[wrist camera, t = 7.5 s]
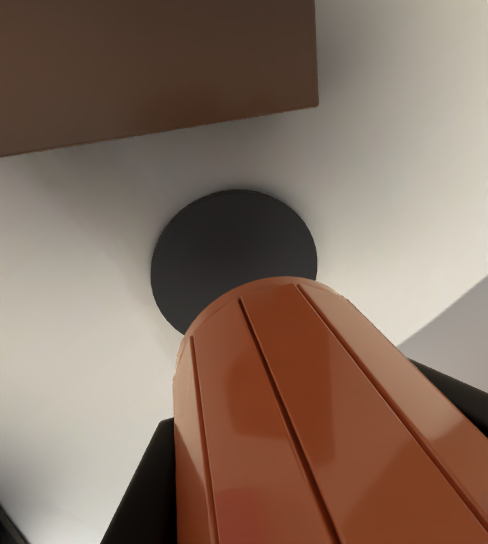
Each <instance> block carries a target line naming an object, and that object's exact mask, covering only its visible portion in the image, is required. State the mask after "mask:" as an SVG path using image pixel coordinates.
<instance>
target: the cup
mask: <svg viewBox="0 0 488 544" xmlns="http://www.w3.org/2000/svg"><path fill="white" fill-rule="evenodd" d="M173 407H174V439H175V461H176V478H175V483H176V520H177V544H488V438H487V437H486V436H485V435H484V434H483V433H482V432H481V431H480V430H479V429H478V428H477V427H476V426H475V425H474V424H473V423H472V422H471V421H470V420H469V419H468V418H467V417H466V416H465V415H464V414H463V413H462V412H461V411H460V410H459V409H458V408H457V407H456V406H455V405H454V404H453V403H452V402H451V401H450V400H449V399H448V398H447V397H446V396H445V395H444V394H443V393H442V392H441V391H440V390H439V389H438V388H437V387H436V386H435V385H434V384H433V383H432V382H431V381H430V380H428V379H427V378H426V377H425V376H424V375H423V374H422V373H421V372H420V371H419V370H418V369H417V368H416V367H415V366H414V365H413V364H412V363H411V362H410V361H409V360H408V359H407V358H406V357H405V356H404V355H403V354H402V353H401V352H400V351H399V350H398V349H397V348H396V347H395V346H394V345H393V344H392V343H391V342H390V341H389V340H388V339H387V338H386V337H385V336H384V335H383V334H382V333H381V332H380V331H379V330H378V329H377V328H376V327H375V326H374V325H373V324H372V323H371V322H370V321H369V320H368V319H367V318H366V317H365V316H364V315H363V314H362V313H361V312H360V311H359V310H358V309H357V308H356V307H355V306H354V305H353V304H352V303H351V302H350V301H349V300H348V299H345V298H344V297H343V296H341V295H340V294H338V293H337V292H336V291H335V290H333V289H331V288H330V287H328V286H326V285H324V284H322V283H319V282H317V281H314V280H310V279H306V278H301V277H291V276H281V277H270V278H263V279H259V280H255V281H252V282H248V283H246V284H243V285H241V286H238V287H236V288H234V289H232V290H230V291H228V292H227V293H225V294H223V295H221V296H220V297H219V298H217V299H216V300H215V301H213V302H212V303H211V304H209V305H208V306H207V307H206V308H205V309H204V310H203V311H202V312H201V313H200V314H199V315H198V316H197V318H196V319H195V320H194V321H193V322H192V324H191V325H190V327H189V328H188V330H187V332H186V333H185V335H184V337H183V339H182V342H181V344H180V347H179V350H178V353H177V358H176V366H175V375H174V378H173Z"/></svg>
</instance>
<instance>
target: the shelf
mask: <svg viewBox="0 0 488 544" xmlns="http://www.w3.org/2000/svg"><path fill="white" fill-rule="evenodd" d="M318 105H319V97H318V74H317V50H316V27H315V3H314V0H0V158H3V157H9V156H15V155H22V154H28V153H34V152H40V151H47V150H53V149H59V148H65V147H71V146H78V145H84V144H90V143H96V142H103V141H109V140H115V139H121V138H127V137H134V136H140V135H146V134H152V133H159V132H165V131H171V130H177V129H183V128H190V127H196V126H202V125H208V124H215V123H221V122H227V121H233V120H239V119H246V118H252V117H258V116H264V115H271V114H277V113H283V112H289V111H295V110H302V109H308V108H314V107H317V106H318Z"/></svg>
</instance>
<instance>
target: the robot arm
mask: <svg viewBox="0 0 488 544" xmlns="http://www.w3.org/2000/svg"><path fill="white" fill-rule="evenodd" d="M406 358H407V357H406ZM407 359H408V360H409V361H410V362H411V363H412V364H413V365H414V366H415V367H416V368H417V369H418V370H419V371H420V372H421V373H422V374H423V375H424V376H425V377H426V378H427V379H428V380H430V381H431V382H432V383H433V384H434V385H435V386H436V387H437V388H438V389H439V390H440V391H441V392H442V393H443V394H444V395H445V396H446V397H447V398H448V399H449V400H450V401H451V402H452V403H453V404H454V405H455V406H456V407H457V408H458V409H459V410H460V411H461V412H462V413H463V414H464V415H465V416H466V417H467V418H468V419H469V420H470V421H471V422H472V423H473V424H474V425H475V426H476V427H477V428H478V429H479V430H480V431H481V432H482V433H483V434H484V435H485V436H486V437H487V438H488V393H486V392H484V391H482V390H479V389H477V388H475V387H472V386H470V385H468V384H466V383H463V382H461V381H459V380H457V379H454V378H452V377H450V376H448V375H445V374H443V373H441V372H438V371H436V370H434V369H432V368H429V367H427V366H425V365H423V364H420V363H418V362H416V361H414V360H411V359H409V358H407ZM175 478H176V461H175V439H174V417H173V418H170V419H166V420H162V421H161V422H160V423H159V424H158V426H157V428H156V431H155V433H154V435H153V437H152V439H151V441H150V443H149V445H148V447H147V449H146V451H145V453H144V455H143V457H142V459H141V461H140V463H139V465H138V467H137V469H136V471H135V474H134V476H133V478H132V480H131V482H130V484H129V486H128V488H127V490H126V492H125V494H124V496H123V498H122V500H121V502H120V504H119V506H118V508H117V510H116V512H115V514H114V517H113V519H112V521H111V523H110V525H109V527H108V529H107V531H106V533H105V535H104V537H103V539H102V541H101V543H100V544H177V520H176V483H175ZM0 544H26V543H25V542H24V540H23V539H22V538H21V536H20V535H19V534H18V532H17V531H16V529H15V528H14V527H13V525H12V524H11V523H10V521H9V520H8V519H7V517H6V516H5V514H4V513H3V512H2V510H1V509H0Z"/></svg>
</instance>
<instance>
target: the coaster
mask: <svg viewBox="0 0 488 544" xmlns="http://www.w3.org/2000/svg"><path fill="white" fill-rule="evenodd" d="M316 274H317V253H316V247H315V244H314V240H313V238H312V235H311V233H310V231H309V229H308V228H307V226H306V224H305V223H304V222H303V220H302V219H301V218H300V217H299V216H298V214H296V213H295V212H294V211H293V210H292V209H291V208H290V207H288V206H287V205H285V204H284V203H282V202H281V201H279V200H278V199H275V198H273V197H271V196H269V195H266V194H263V193H260V192H256V191H249V190H228V191H221V192H217V193H213V194H210V195H207V196H205V197H202V198H200V199H198V200H196V201H194V202H193V203H191V204H189V205H188V206H187V207H185V208H184V209H183V210H181V211H180V212H179V213H178V214H177V215H176V216H175V217H174V218H173V219H172V220H171V221H170V222H169V224H168V225H167V226H166V227H165V229H164V230H163V232H162V234H161V236H160V237H159V239H158V242H157V244H156V247H155V249H154V253H153V258H152V265H151V286H152V291H153V295H154V298H155V301H156V303H157V306H158V307H159V309H160V311H161V313H162V314H163V316H164V317H165V318H166V320H167V321H168V322H169V323H170V324H171V325H172V326H173V327H174V328H175V329H176V330H178V331H179V332H180V333H182V334H183V335H185V333H186V332H187V330H188V328H189V327H190V325H191V324H192V322H193V321H194V320H195V319H196V318H197V316H198V315H199V314H200V313H201V312H202V311H203V310H204V309H205V308H206V307H207V306H208V305H209V304H211V303H212V302H213V301H215V300H216V299H217V298H219V297H220V296H221V295H223V294H225V293H227V292H228V291H230V290H232V289H234V288H236V287H238V286H241V285H243V284H246V283H248V282H252V281H255V280H259V279H263V278H270V277H281V276H291V277H301V278H306V279H310V280H314V281H315V280H316Z"/></svg>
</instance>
